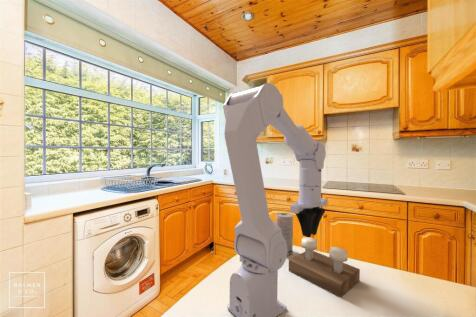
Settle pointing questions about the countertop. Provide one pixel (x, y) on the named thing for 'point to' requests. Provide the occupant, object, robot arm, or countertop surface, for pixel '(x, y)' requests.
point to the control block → (325, 273)
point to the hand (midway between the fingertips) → (309, 235)
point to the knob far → (309, 247)
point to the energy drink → (286, 229)
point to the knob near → (338, 258)
